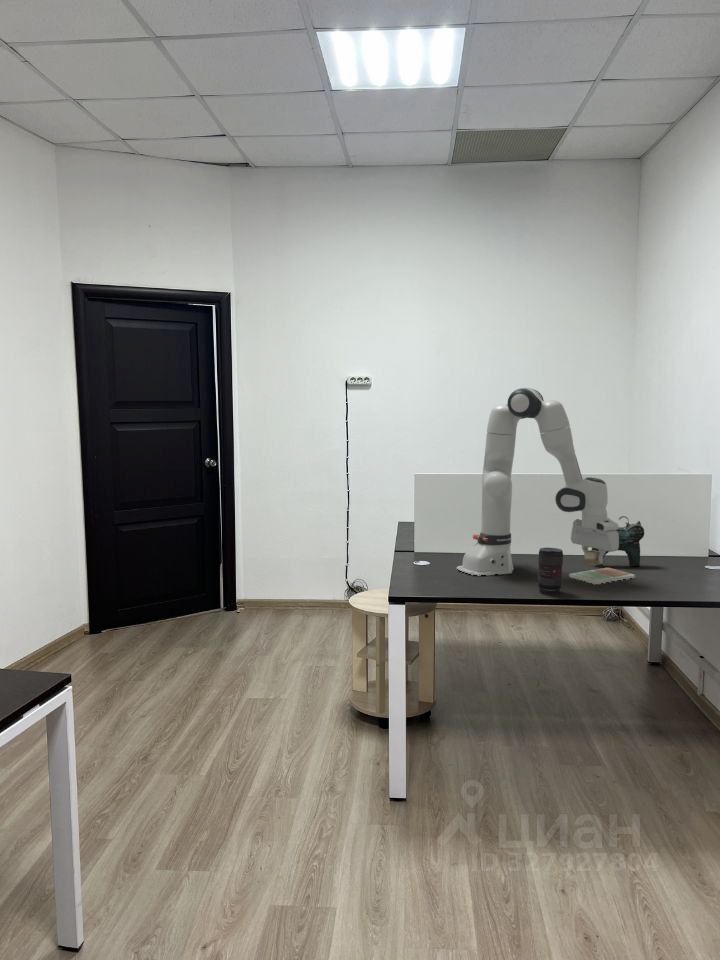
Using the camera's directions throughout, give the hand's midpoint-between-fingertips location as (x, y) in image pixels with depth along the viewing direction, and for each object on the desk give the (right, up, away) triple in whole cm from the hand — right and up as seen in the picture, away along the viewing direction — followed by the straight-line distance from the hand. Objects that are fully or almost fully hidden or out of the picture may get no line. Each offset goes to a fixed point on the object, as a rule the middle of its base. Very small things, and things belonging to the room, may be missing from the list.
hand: (593, 559), depth 267 cm
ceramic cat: (+16, -5, +21) cm, 27 cm away
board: (+4, -7, +3) cm, 9 cm away
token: (0, -2, 0) cm, 2 cm away
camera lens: (-20, -10, -17) cm, 28 cm away
